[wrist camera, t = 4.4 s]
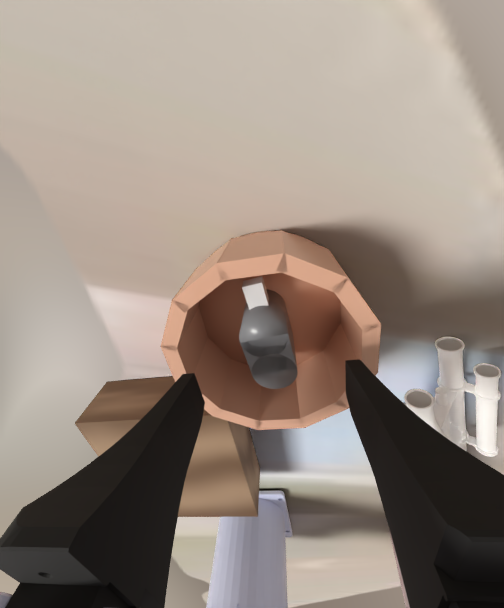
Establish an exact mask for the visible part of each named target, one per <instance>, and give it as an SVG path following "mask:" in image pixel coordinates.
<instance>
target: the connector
mask: <svg viewBox="0 0 504 608" xmlns="http://www.w3.org/2000/svg"><path fill="white" fill-rule="evenodd" d="M242 289H243V292H244V295H245V298H246V304H245V309H244V314H243V319H242V324H241V329H240V334H239V340H240V344H241V346H242V349H243V352H244V354H245V357H246V360H247V363H248V365H249V368H250V371H251V373H252V376H253V378H254V380H255V381H256V382H257V383H258V384H260V385H261V386H263V387H266V388H270V389H281V388H284V387H287V386H289V385H290V384H292V383H293V382H294V381H295V379H296V377H297V363H296V355H295V347H294V338H293V333H292V329H291V325H290V321H289V317H288V313H287V309H286V305H285V302H284V299H283V298H282V297H281V295H279V294H278V293H277V292H275V291H272V290H268V289H266V287H265V283H264V280H263V276H262V277H257V278H253V279H249V280H245V281H243V285H242Z"/></svg>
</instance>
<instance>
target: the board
mask: <svg viewBox="0 0 504 608" xmlns="http://www.w3.org/2000/svg"><path fill="white" fill-rule="evenodd" d="M174 383H175V380H174V378H173V376H171V377H159V378H147V379H135V380H123V381H111V382H107V383H106V384H105V385H104V386H103V388H102V389H101V390H100V392H99V393H98V394H97V395H96V397H95V398H94V399H93V401H92V402H91V403H90V404H89V406H88V407H87V408H86V410H85V411H84V412H83V413H82V415H81V416H80V417H79V418H78V420H77V421H76V422H75V424H76V426H77V427H78V428H79V430H80V431H81V433H82V434H83V435H84V437H85V438H86V440H87V441H88V443H89V444H90V445H91V447H92V448H93V450H94V451H95V452H96V454H97V455H98V457H99V456H100V455H101V454H103V453H104V452H105V451H106V450H108V449H109V448H110V447H111V446H113V445H114V444H115V443H116V442H117V441H118V440H120V439H121V438H122V437H123V436H124V435H125V434H126V433H127V432H128V431H130V430H131V429H132V428H133V427H134V426H135V425H136V424H137V423H138V422H139V421H140V420H141V419H142V418H143V417H144V416H145V415H146V414H147V413H148V412H149V411H150V410H151V409H152V408H153V407H154V405H155V404H156V403H157V402H158V401H159V400H160V399H161V398H162V397H163V396H164V394H165V393H166V392H167V391H168V390H169V389H170V388H171V387H172V385H173V384H174ZM259 480H260V468H259V464H258V460H257V456H256V452H255V449H254V445H253V441H252V437H251V434H250V430H249V427H246V426H243V425H240V424H236V423H233V422H230V421H227V420H223V419H220V418H217V417H214V416H212V415H211V414H209V413H208V412H207V411H206V410H204V412H203V418H202V423H201V427H200V430H199V434H198V437H197V440H196V444H195V447H194V450H193V454H192V457H191V460H190V464H189V467H188V470H187V474H186V478H185V482H184V487H183V492H182V497H181V501H180V507H179V512H178V517H258V503H259Z"/></svg>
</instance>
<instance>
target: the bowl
mask: <svg viewBox="0 0 504 608" xmlns="http://www.w3.org/2000/svg"><path fill="white" fill-rule="evenodd" d="M262 276H263V280H264V283H265V287H266V289H268V290H272V291H275V292H277V293H278V294H279V295H281V297H282V298H283V299H284V302H285V305H286V309H287V313H288V317H289V321H290V325H291V329H292V333H293V338H294V347H295V355H296V363H297V377H296V379H295V381H294V382H293V383H292V384H290V385H289V386H287V387H284V388H281V389H270V388H266V387H263V386H261V385H260V384H258V383H257V382H256V381H255V380H254V378H253V376H252V373H251V371H250V368H249V365H248V363H247V360H246V357H245V354H244V352H243V349H242V346H241V344H240V340H239V334H240V329H241V324H242V319H243V314H244V309H245V304H246V298H245V295H244V292H243V289H242V285H243V281H245V280H249V279H253V278H257V277H262ZM380 333H381V323H380V321H379V320H378V319H377V317H376V316H375V314H374V313H373V311H372V310H371V309H370V307H369V306H368V304H367V303H366V301H365V300H364V299H363V297H362V296H361V294H360V293H359V292H358V290H357V289H356V287H355V286H354V285H353V283H352V282H351V281H350V279H349V278H348V276H347V275H346V273H345V272H344V270H343V269H342V268H341V266H340V265H339V263H338V262H337V260H336V259H335V258H334V256H333V255H332V253H331V252H330V250H329V249H328V248H325V247H322V246H320V245H318V244H316V243H315V242H313V241H311V240H309V239H307V238H305V237H302V236H299V235H296V234H292V233H287V232H284V231H282V230H280V231H263V232H255V233H250V234H246V235H243V236H240V237H236V238H231V239H230V240H229V241H228V242H227V243H226V244H224V245H223V246H221V247H220V248H219V249H217V250H216V251H215V252H214V253H213V254H212V255H211V256H210V257H209V258H208V259H207V260H206V261H204V262H203V263H202V264H201V265H200V266H199V267H197V268H196V270H195V271H194V272H193V273H192V275H191V276H190V277H189V279H188V280H187V281H186V282H185V284H184V285H183V286H182V288H181V289H180V290H179V292H178V293H177V294H176V295H175V297H174V298H173V299H172V302H171V306H170V311H169V315H168V319H167V323H166V327H165V331H164V335H163V339H162V343H161V348H162V351H163V353H164V356H165V358H166V361H167V363H168V365H169V368H170V370H171V373H172V375H173V378H174V380H175V382H176V381H177V380H178V379H179V378H180V377H181V375H182V374H189V373H195V376H196V379H197V382H198V384H199V387H200V390H201V393H202V396H203V398H204V401H205V405H204V410H206V411H207V412H208V413H209V414H211V415H212V416H214V417H217V418H220V419H223V420H227V421H230V422H233V423H236V424H240V425H243V426H246V427H249V428H253V429H256V430H268V429H288V428H306V427H308V426H310V425H312V424H314V423H317V422H319V421H321V420H323V419H326V418H328V417H330V416H332V415H335V414H337V413H339V412H341V411H344V410H346V409H348V408H349V404H348V400H347V396H346V371H345V360H357V359H360V360H361V361H362V362H363V363H364V364H365V365H366V366H367V368H368V369H369V370H370V371H371V372H372V373H373V374H374V375H376V374H377V373H378V363H379V348H380Z"/></svg>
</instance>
